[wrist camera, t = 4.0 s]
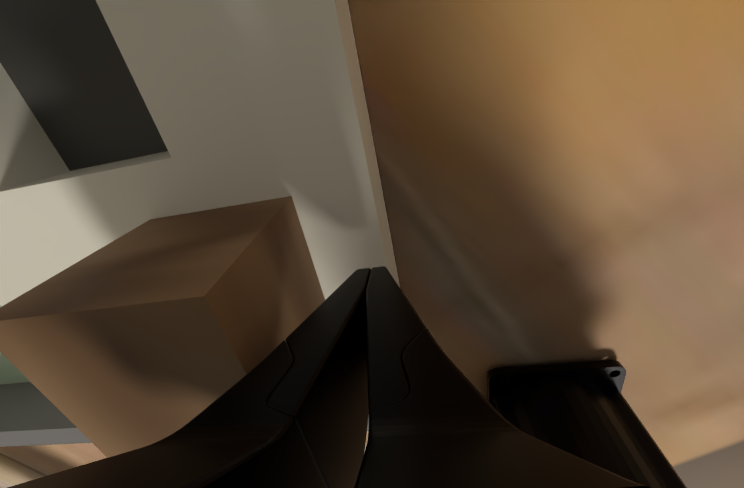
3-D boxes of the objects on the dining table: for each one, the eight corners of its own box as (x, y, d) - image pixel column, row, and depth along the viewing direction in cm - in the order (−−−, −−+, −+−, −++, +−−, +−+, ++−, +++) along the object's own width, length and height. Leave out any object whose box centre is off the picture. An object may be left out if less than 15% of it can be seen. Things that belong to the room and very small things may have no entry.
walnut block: (291, 196, 10) (204, 296, 5) (331, 319, 12) (293, 460, 8) (150, 219, 10) (-28, 324, 6) (213, 331, 13) (116, 465, 8)
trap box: (299, -262, 7) (116, -886, 3) (406, 319, 16) (409, 428, 11) (-345, -5, 11) (-921, -67, 6) (15, 357, 19) (-113, 451, 14)
